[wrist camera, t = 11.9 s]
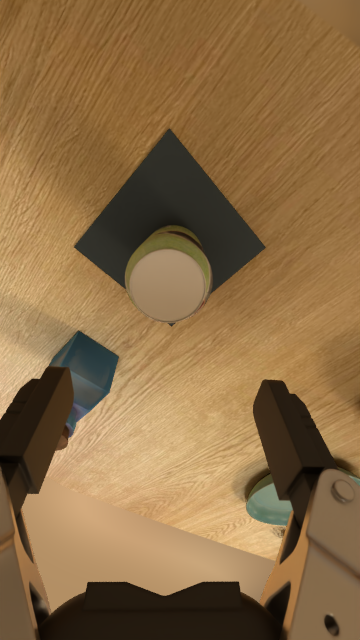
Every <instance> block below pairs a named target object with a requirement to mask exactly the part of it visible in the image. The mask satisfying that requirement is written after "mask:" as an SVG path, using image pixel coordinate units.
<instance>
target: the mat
mask: <svg viewBox="0 0 360 640" xmlns="http://www.w3.org/2000/svg"><path fill="white" fill-rule="evenodd" d="M169 225H178V226H182V227H184V228H187V229H188V230H190V231H191V232H193V233H194V234H195V235H196V237H197V238H198V239H199V241H200V243H201V245H202V248H203V250H204V252H205V255H206V257H207V259H208V261H209V264H210V267H211V270H212V277H213V283H212V290H211V293H212V292H213V291H214V290H216V289H217V288H218V287H219V286H220V285H222V284H223V283H224V282H225V281H226V280H228V279H229V278H230V277H231V276H232V275H234V274H235V273H236V272H237V271H238V270H240V269H241V268H242V267H243V266H244V265H246V264H247V263H248V262H249V261H250V260H252V259H253V258H254V257H255V256H256V255H258V254H259V253H260V252H261V251H262V250H264V249H265V248H266V247H265V246H264V245H263V244H262V242H261V241H260V240H259V239H258V237H257V236H256V235H255V234H254V232H253V231H252V230H251V229H250V227H249V226H248V225H247V224H246V223H245V221H244V220H243V219H242V218H241V216H240V215H239V214H238V213H237V211H236V210H235V209H234V208H233V206H232V205H231V204H230V203H229V201H228V200H227V199H226V198H225V197H224V195H223V194H222V193H221V192H220V190H219V189H218V188H217V187H216V185H215V184H214V183H213V182H212V180H211V179H210V178H209V177H208V175H207V174H206V173H205V172H204V171H203V169H202V168H201V167H200V166H199V164H198V163H197V162H196V161H195V159H194V158H193V157H192V156H191V154H190V153H189V152H188V151H187V149H186V148H185V147H184V146H183V145H182V143H181V142H180V141H179V140H178V138H177V137H176V136H175V135H174V133H173V132H172V131H171V130H170V129H169V130H168V131H167V132H166V133H165V135H164V136H163V137H162V138H161V140H160V141H159V142H158V143H157V145H156V146H155V147H154V148H153V149H152V151H151V152H150V153H149V154H148V156H147V157H146V158H145V159H144V161H143V162H142V163H141V164H140V166H139V167H138V168H137V169H136V171H135V172H134V173H133V174H132V176H131V177H130V178H129V179H128V181H127V182H126V183H125V184H124V185H123V187H122V188H121V189H120V190H119V192H118V193H117V194H116V195H115V197H114V198H113V199H112V200H111V202H110V203H109V204H108V205H107V207H106V208H105V209H104V210H103V212H102V213H101V214H100V215H99V217H98V218H97V219H96V220H95V221H94V223H93V224H92V225H91V226H90V228H89V229H88V230H87V231H86V233H85V234H84V235H83V236H82V238H81V239H80V240H79V241H78V243H77V244H76V245H75V246H74V248H76V249H77V250H78V251H79V252H81V253H82V254H83V255H84V256H85V257H87V258H88V259H89V260H90V261H92V262H93V263H94V264H95V265H97V266H98V267H99V268H100V269H101V270H103V271H104V272H105V273H106V274H108V275H109V276H110V277H111V278H113V279H114V280H115V281H116V282H117V283H119V284H120V285H121V286H122V287H124V288H125V289H126V286H125V272H126V267H127V264H128V261H129V260H130V258H131V256H132V254H133V253H134V252H135V251H136V250H137V248H138V247H139V246H140V245H141V244H142V243H143V242H144V241H145V240H146V239H147V238H148V237H149V236H150V235H151V234H152V233H154V232H155V231H156V230H158V229H159V228H161V227H164V226H169ZM211 293H210V294H211ZM168 324H169V325H170V326H173V325H174V324H175V323H168Z"/></svg>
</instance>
